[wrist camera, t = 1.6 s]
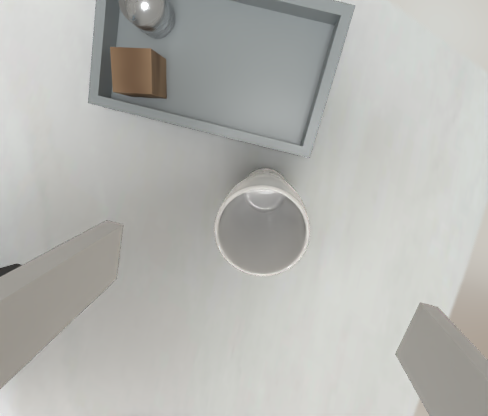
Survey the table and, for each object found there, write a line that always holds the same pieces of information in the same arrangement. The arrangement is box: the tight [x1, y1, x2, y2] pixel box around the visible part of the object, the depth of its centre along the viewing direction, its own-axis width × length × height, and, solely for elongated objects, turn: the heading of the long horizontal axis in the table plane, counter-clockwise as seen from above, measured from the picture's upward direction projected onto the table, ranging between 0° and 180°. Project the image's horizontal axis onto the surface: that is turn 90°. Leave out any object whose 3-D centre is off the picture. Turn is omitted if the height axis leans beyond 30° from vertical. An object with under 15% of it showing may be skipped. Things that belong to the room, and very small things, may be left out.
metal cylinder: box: [118, 0, 175, 39], centre depth 27 cm, size 4×4×4 cm
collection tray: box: [88, 0, 355, 158], centre depth 29 cm, size 24×14×3 cm, turn 77°
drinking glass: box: [214, 168, 310, 276], centre depth 26 cm, size 7×7×15 cm
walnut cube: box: [110, 47, 167, 99], centre depth 29 cm, size 4×4×4 cm
